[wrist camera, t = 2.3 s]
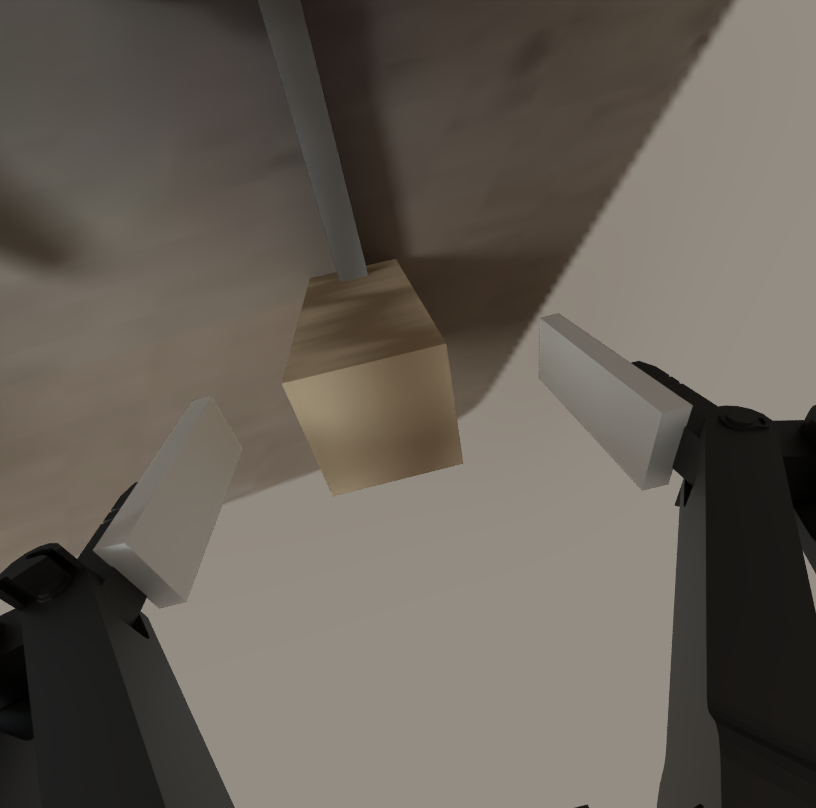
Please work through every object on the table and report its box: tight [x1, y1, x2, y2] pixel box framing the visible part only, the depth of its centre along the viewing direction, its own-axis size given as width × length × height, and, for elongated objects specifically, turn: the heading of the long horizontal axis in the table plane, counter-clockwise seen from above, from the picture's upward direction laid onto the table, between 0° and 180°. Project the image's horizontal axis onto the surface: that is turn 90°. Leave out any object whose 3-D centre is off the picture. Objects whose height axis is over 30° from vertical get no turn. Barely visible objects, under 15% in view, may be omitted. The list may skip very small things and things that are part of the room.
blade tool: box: [258, 0, 463, 496], centre depth 13 cm, size 5×21×12 cm, turn 11°
